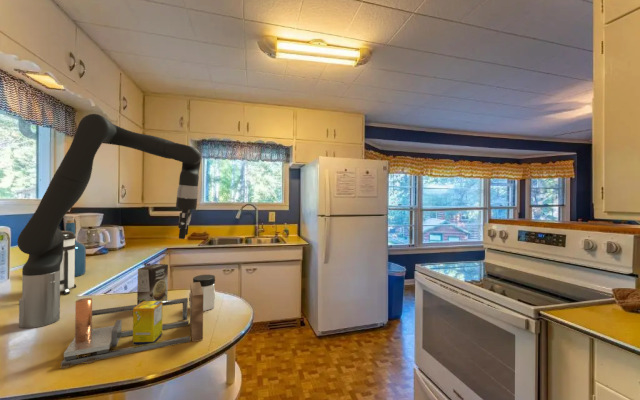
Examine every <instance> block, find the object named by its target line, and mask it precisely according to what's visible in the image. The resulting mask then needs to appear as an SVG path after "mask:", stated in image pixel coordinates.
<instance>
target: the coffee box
mask: <svg viewBox="0 0 640 400" xmlns="http://www.w3.org/2000/svg"><path fill="white" fill-rule="evenodd" d="M168 269H169V264H165V263H153V264H149V265H146V266H143V267H139V268H137V291H136V292H137V294H136V297H137V298H136V305H137V304H141V303H142V302H143V301H167V300H168V293H169V291H168V283H169V282H168V281H169V279H168V278H169V272H168V271H169V270H168Z"/></svg>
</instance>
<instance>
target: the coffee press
mask: <svg viewBox="0 0 640 400" xmlns="http://www.w3.org/2000/svg"><path fill="white" fill-rule="evenodd" d="M58 228H59V229H60V230H61V226H60V225H59V226H58ZM61 231H62V234H63V239H64V244H63V259H62V262H61V265H60V293H61V292H62V293H63V295H64V296H66V295H69V294H70V291H71V290H70V289H76V287H77V285H76V283H75V279H76V278H75V239H76V238H77V236H76V234H75V235H74V233H73V232H70V231H66V230H61Z"/></svg>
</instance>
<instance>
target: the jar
mask: <svg viewBox="0 0 640 400" xmlns="http://www.w3.org/2000/svg"><path fill="white" fill-rule="evenodd" d="M194 282H200V284H201V288H202V291H203V312H206V311H209V310H213V309H214V308H215V299H216V297H215V296H216V290H215V285H216V284H215V283H216V276H215V275H214V274H200V275H196V276H193V278H192V283H194Z"/></svg>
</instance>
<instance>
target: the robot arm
mask: <svg viewBox="0 0 640 400" xmlns="http://www.w3.org/2000/svg"><path fill="white" fill-rule="evenodd" d="M102 144H106V145H115V146H119V147H126V148H129V149H134V150H137V151H140V152H144V153H147V154H150V155H153V156H155V157H156V156H157V157H161V158H164V159H169V160H175V161H178V162H179V163H180V162H181V163H182V164H181V171H180V173H179V177H178V178H179V179H178V187H177V193H176V202H175V203H176V204H175V208H177V209H180V210H181V212H180V213H179V216H178V217H179V220H178V226H177V227H178V229H179V230H178V231H179V233H178V239H179V240H185V239H186V236H187V235H188V234H189V227H190V223H191V219H192V210H196V209H197V205H198V195H199V179H200V178H199V177H200V176H199V175H200V169H201V168H200V167H201V162H202V154H201V152H200V151H199V150H198V148H196V147H194V146H190V145H188V144H183V143H178V142H174V141H172V140H169V139H165V138H162V137H159V136H156V135H155V136H154V135H150V134H145V133H139V132H134V131H131V130H127V129H125V128H123V127H120V126H118V125H116V124H114V123H112V122H111V121H110V120H109V119H108V118H107V117H105V116H103V115H100V114H98V113H91V114H90V113H89V114H87V115H85V116H83V117H82V118H81V120H80V121H79V123H78V125H77V127H76V131H75V134H74V136H73V139H72V142H71V143H70V146H69V148H68V150H67V152H66V153H65V155H64V156H63V158H62V160H61V162H60V165H59V166H58V167H57V169H56V171H55V173H54V175H52V176H53V177H52V179H51V180H50V182H49V184H48V186H47V188H46V191H45V192H44V194H43V196H42V198H41V200H40V202H39V203H38V206H37V208H36V209H35V211H34V213H33V215H32V216H31V218H30V219H29V220H28V222H27V223H26V225H25V226H24V227H23V229H22V230H21V232H20V233H19V235H18V237H17V247H18V248H19V250H20V251H21V252H22V253H24V254H27V255H28V259H27V260H26V262H25V264H23V266H22V273H21V274H22V279H21V284H22V285H21V286H22V287H21V288H22V290H21V297H20V298H19V300H18V328H19V329H23V328H25V329H33V328H39V327H44V326H48V325H50V324H54V323H56V322H57V321H59V320H60V318H61V317H60V316H61V315H60V314H61V309H60V308H61V291H60V265H61V262H62V259H63V244H64V239H63V234H62V231H63V230H61V228H60V229H59V228H58V226H60V224H61V221H62V220H63V218H64V217H65V216H66V214H67V213H68V212H69V211H70V210H71V209H72V208H73V207H74V205H75V204H77V202H78V201H79V200H80V199H81V197H82V195H83V194H84V192H85V190H86V188H87V186H88V184H89V182H90V180H91V176H92V171H93V166H94V159H95V156H96V154H97V153H98V150H99V149H100V147H101V145H102Z"/></svg>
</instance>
